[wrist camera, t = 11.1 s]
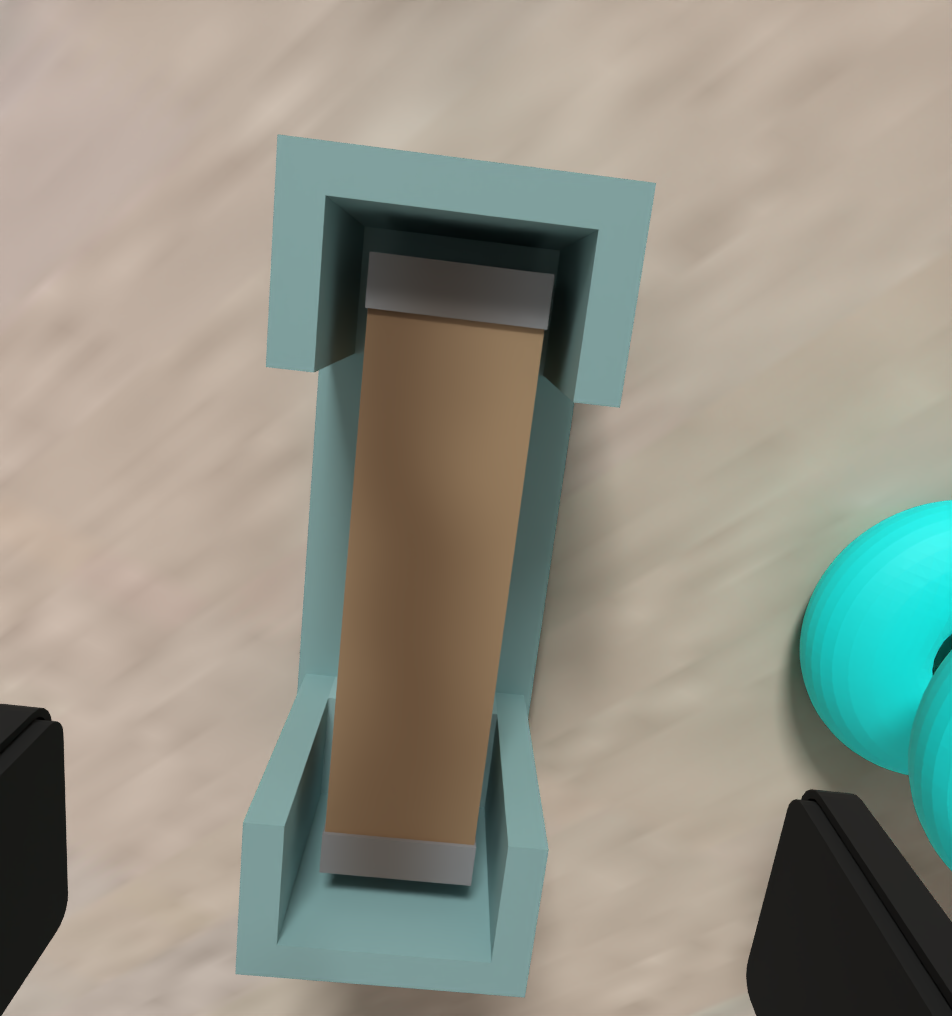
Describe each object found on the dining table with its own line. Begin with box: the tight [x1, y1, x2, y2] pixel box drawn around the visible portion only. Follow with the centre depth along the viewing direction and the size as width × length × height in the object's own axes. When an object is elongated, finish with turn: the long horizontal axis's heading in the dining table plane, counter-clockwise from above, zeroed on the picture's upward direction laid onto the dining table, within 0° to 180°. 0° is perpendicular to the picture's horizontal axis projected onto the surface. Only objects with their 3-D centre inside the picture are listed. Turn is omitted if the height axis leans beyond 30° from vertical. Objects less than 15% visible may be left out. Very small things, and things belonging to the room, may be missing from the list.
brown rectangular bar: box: [319, 252, 555, 886], centre depth 22 cm, size 4×16×5 cm, turn 173°
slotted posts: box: [236, 135, 656, 997], centre depth 23 cm, size 8×20×10 cm, turn 173°
